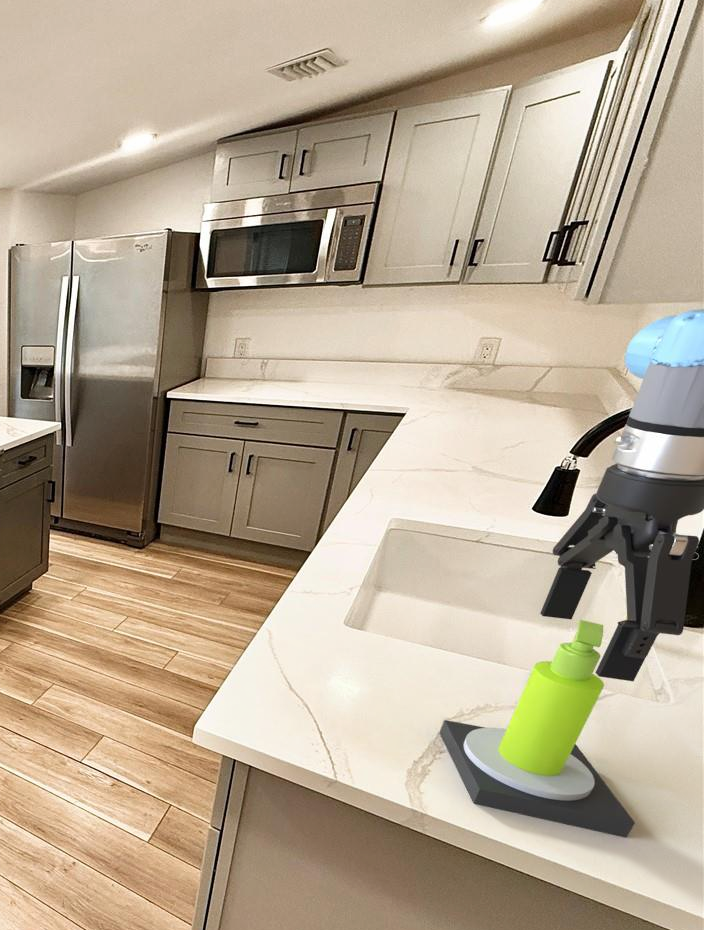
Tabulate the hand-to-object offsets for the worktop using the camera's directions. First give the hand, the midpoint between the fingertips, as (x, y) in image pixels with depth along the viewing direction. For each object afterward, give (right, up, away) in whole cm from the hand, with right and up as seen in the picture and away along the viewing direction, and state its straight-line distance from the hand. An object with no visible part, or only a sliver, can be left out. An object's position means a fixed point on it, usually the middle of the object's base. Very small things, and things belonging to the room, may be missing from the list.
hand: (582, 644), depth 71 cm
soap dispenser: (+1, -16, +7) cm, 18 cm away
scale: (+1, -19, +8) cm, 21 cm away
